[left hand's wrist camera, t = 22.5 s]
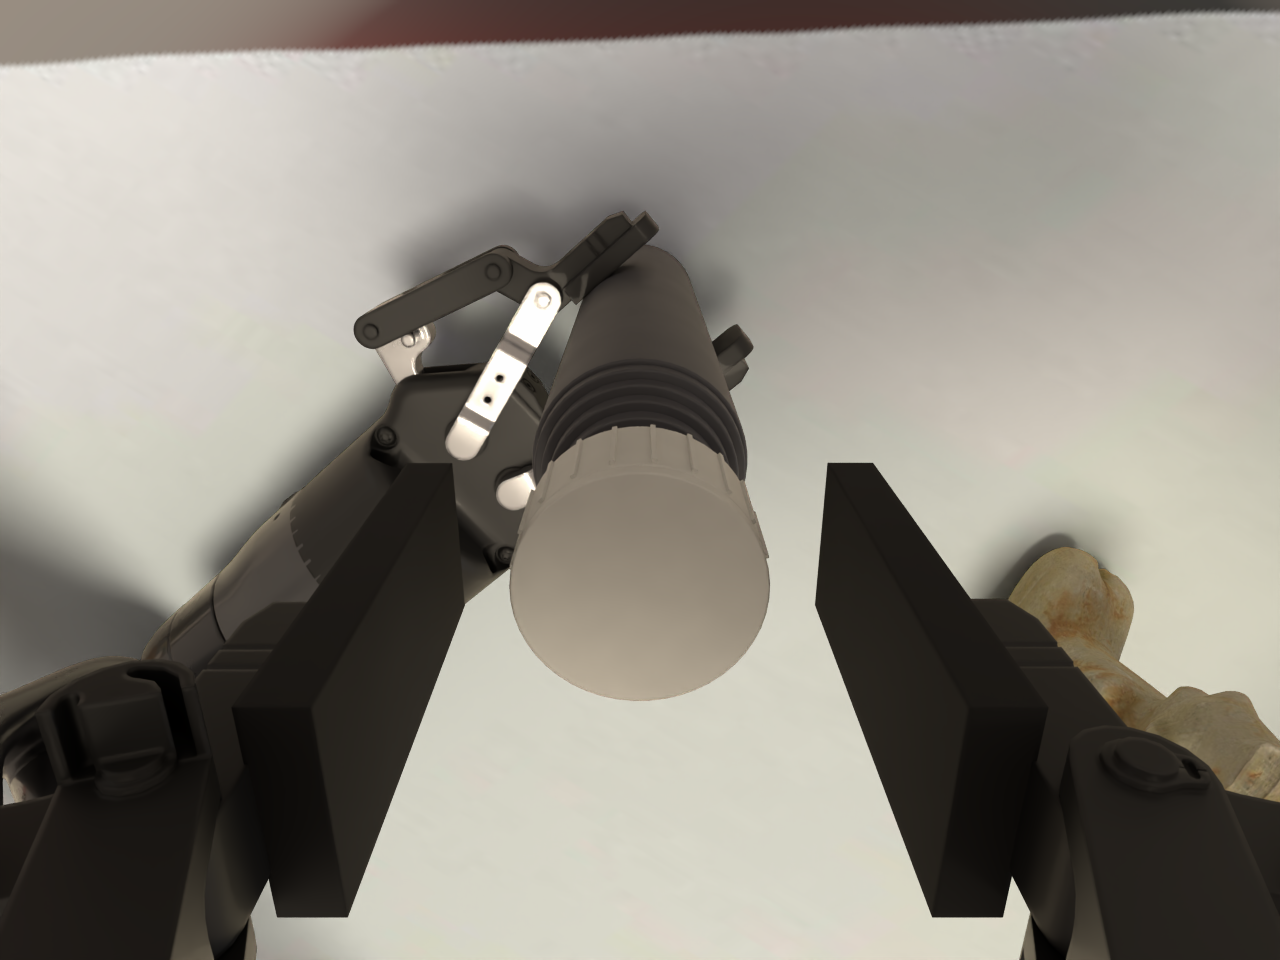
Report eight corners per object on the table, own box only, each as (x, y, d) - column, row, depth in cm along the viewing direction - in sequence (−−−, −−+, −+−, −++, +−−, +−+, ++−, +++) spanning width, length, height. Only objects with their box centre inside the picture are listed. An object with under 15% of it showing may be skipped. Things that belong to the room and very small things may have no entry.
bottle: (570, 326, 37) (457, 636, 14) (610, 226, 35) (557, 390, 12) (666, 366, 37) (709, 725, 14) (710, 270, 36) (834, 502, 13)
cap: (482, 561, 15) (458, 627, 13) (604, 377, 14) (597, 418, 12) (670, 666, 16) (675, 743, 14) (801, 501, 14) (827, 559, 12)
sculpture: (1131, 585, 41) (1384, 814, 27) (1021, 684, 43) (1202, 943, 29) (1049, 518, 40) (1270, 723, 26) (940, 624, 42) (1089, 865, 28)
